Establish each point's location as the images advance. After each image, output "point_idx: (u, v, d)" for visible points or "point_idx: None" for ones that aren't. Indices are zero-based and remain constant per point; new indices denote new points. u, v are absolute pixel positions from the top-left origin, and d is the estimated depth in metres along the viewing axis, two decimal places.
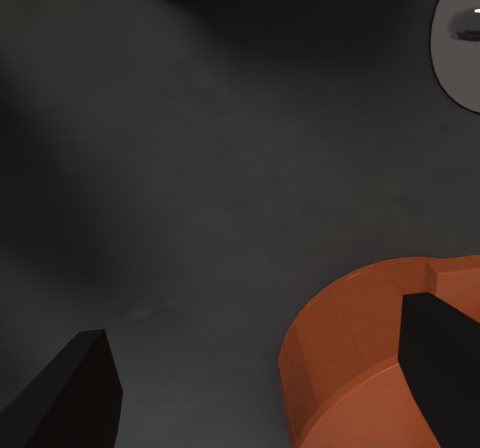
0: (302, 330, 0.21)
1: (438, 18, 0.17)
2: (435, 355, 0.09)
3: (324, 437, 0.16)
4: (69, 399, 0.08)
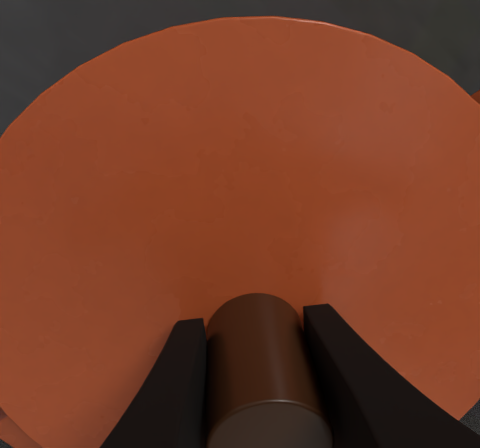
0: None
1: None
2: (321, 368, 0.09)
3: (222, 59, 0.08)
4: (193, 384, 0.08)
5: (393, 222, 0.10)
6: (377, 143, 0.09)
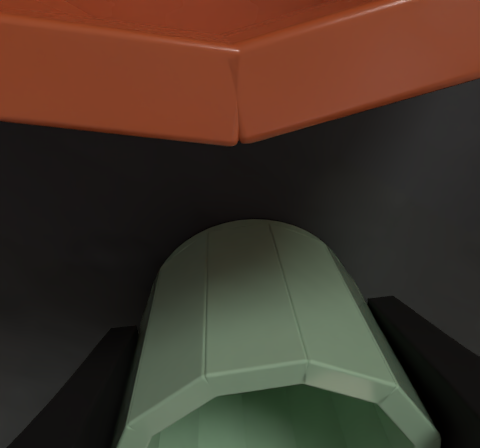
0: None
1: None
2: None
3: None
4: (109, 394, 0.08)
5: None
6: None
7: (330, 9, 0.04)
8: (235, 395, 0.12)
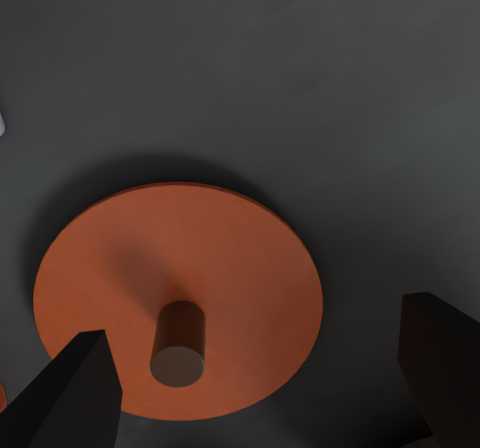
0: None
1: None
2: (435, 355, 0.09)
3: (297, 352, 0.23)
4: (69, 399, 0.08)
5: (207, 380, 0.23)
6: (241, 383, 0.23)
7: None
8: None
